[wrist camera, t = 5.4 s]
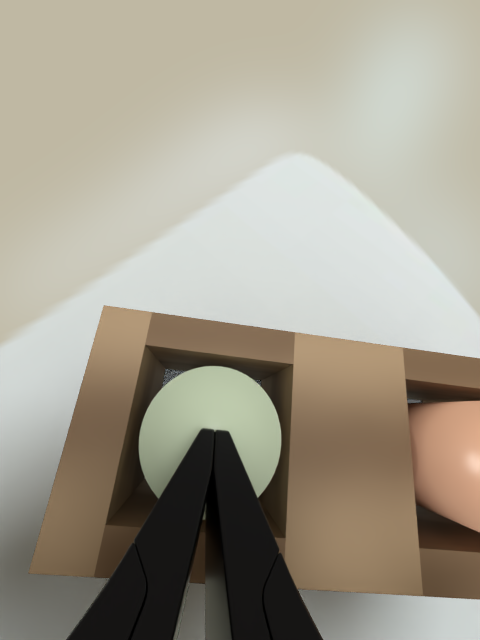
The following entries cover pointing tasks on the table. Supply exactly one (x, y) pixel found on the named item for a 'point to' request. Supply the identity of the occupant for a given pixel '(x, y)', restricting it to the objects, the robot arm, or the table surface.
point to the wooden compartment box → (294, 462)
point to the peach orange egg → (447, 459)
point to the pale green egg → (210, 424)
